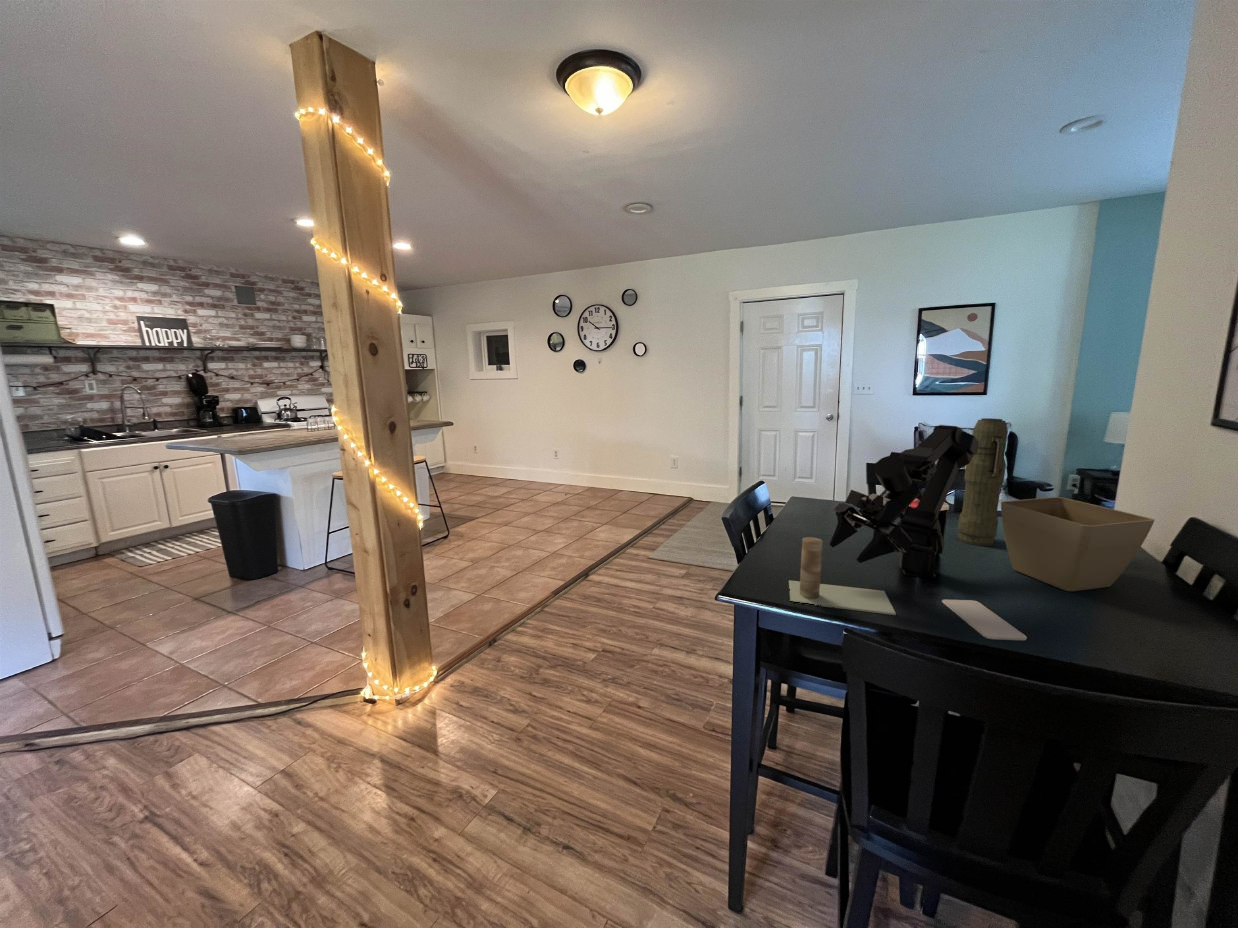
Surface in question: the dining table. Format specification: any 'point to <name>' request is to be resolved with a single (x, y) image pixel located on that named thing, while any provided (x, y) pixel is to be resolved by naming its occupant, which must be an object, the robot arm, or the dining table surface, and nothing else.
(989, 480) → the thermos
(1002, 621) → the smartphone
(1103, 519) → the flower pot
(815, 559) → the maple post
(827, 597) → the sage mat
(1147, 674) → the dining table surface
